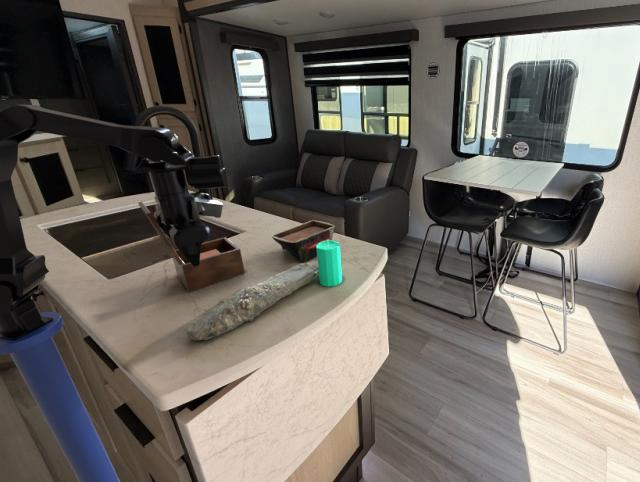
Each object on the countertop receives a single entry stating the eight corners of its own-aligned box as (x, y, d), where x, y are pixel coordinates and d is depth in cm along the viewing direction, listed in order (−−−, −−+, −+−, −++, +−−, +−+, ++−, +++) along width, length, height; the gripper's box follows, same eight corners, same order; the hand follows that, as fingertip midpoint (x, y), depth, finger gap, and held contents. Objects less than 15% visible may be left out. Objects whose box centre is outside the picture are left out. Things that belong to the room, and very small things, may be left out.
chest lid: (141, 201, 78) (137, 202, 77) (150, 212, 70) (146, 213, 69) (171, 249, 85) (168, 250, 84) (183, 263, 77) (179, 265, 77)
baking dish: (273, 257, 101) (265, 231, 96) (318, 233, 113) (313, 208, 108) (299, 275, 93) (292, 247, 88) (345, 247, 105) (341, 221, 100)
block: (205, 277, 85) (201, 260, 83) (199, 270, 88) (195, 254, 86) (225, 270, 88) (222, 254, 86) (219, 264, 91) (215, 248, 89)
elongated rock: (333, 277, 88) (307, 270, 93) (331, 260, 87) (305, 253, 92) (205, 351, 59) (178, 335, 64) (199, 327, 58) (172, 312, 63)
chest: (229, 259, 96) (225, 236, 94) (244, 272, 89) (240, 248, 86) (177, 275, 87) (170, 251, 85) (188, 291, 79) (181, 266, 77)
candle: (331, 289, 81) (327, 246, 77) (314, 282, 84) (310, 240, 80) (347, 278, 86) (344, 237, 81) (330, 272, 88) (327, 233, 84)
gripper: (229, 192, 65) (243, 260, 71) (201, 177, 77) (215, 235, 83) (164, 205, 57) (185, 279, 63) (144, 185, 70) (164, 249, 75)
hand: (190, 258), depth 71 cm, fingers open, 9 cm apart
